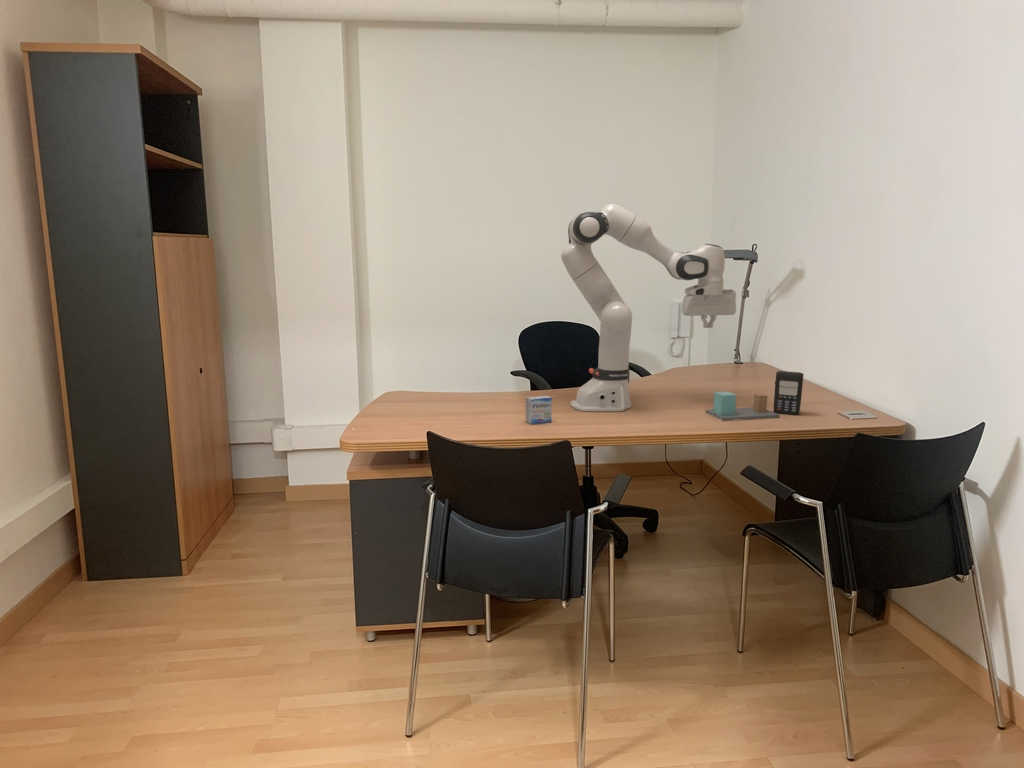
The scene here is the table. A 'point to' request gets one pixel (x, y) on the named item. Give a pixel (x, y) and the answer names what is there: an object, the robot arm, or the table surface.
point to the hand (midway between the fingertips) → (708, 327)
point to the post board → (749, 410)
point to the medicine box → (538, 409)
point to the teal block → (724, 403)
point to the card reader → (788, 392)
